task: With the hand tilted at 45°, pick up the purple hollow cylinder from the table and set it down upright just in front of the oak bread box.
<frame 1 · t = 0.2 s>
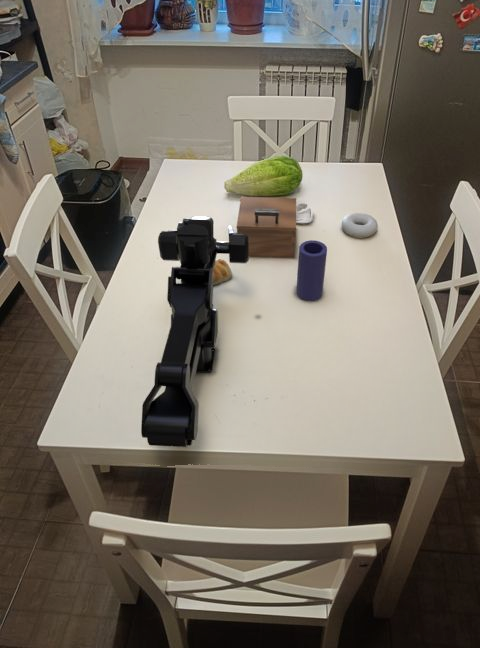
hand: (209, 226, 113), 17 cm above the table, tool horizontal, fingers open, 9 cm apart
purple hollow cylinder: (309, 292, 122), on the table
bread box: (267, 242, 138), on the table
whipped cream: (301, 219, 147), on the table
lettuce: (262, 192, 159), on the table
donut: (358, 230, 143), on the table
pastry: (214, 278, 127), on the table
bread box lid: (267, 206, 130), point 11 cm above the table, hinge at 0.0°
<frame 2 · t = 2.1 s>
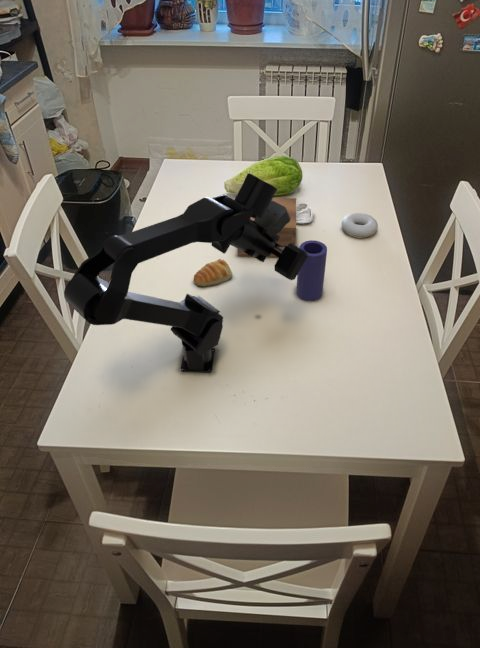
hand: (285, 257, 110), 14 cm above the table, tool tilted 45°, fingers open, 9 cm apart
nothing on the table moved.
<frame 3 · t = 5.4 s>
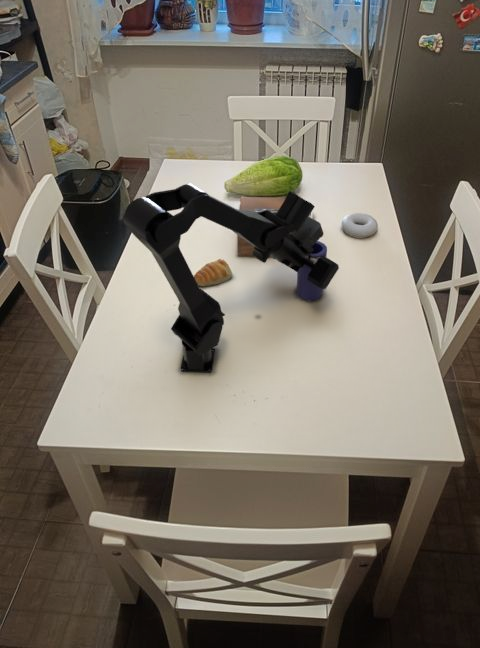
hand: (315, 268, 119), 7 cm above the table, tool tilted 45°, fingers closed on purple hollow cylinder, 6 cm apart
purple hollow cylinder: (309, 292, 122), on the table, touching gripper
everything else where it was.
when the fingers open (7 cm above the table, at t = 12.3 s): purple hollow cylinder stays where it is, on the table.
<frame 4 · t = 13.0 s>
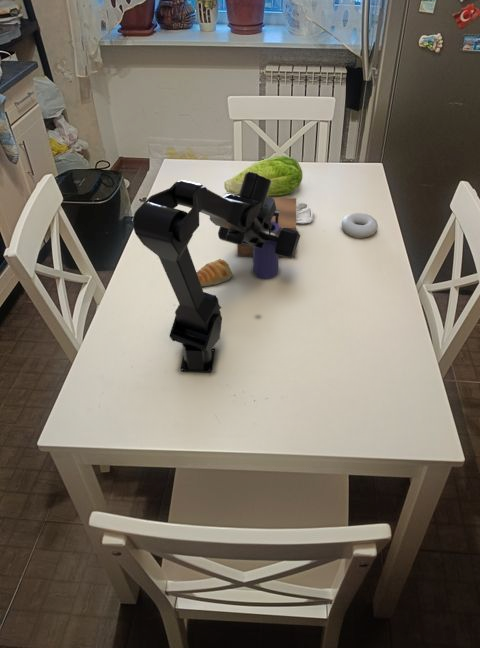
hand: (268, 243, 125), 7 cm above the table, tool tilted 45°, fingers open, 9 cm apart
purple hollow cylinder: (265, 271, 129), on the table
everything else where it was.
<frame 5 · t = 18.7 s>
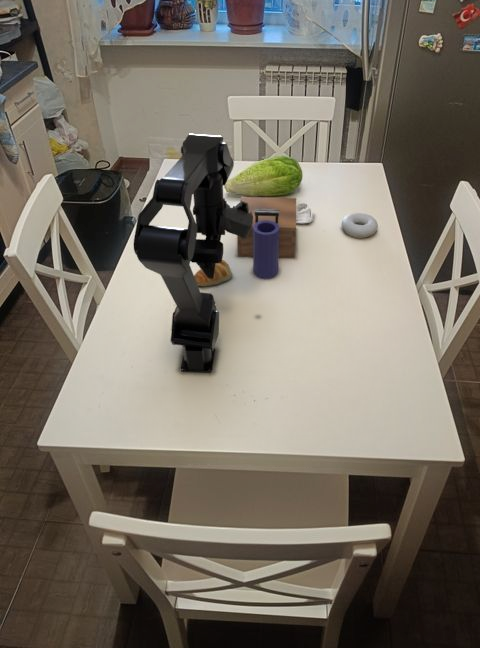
hand: (213, 264, 109), 13 cm above the table, tool pointing down, fingers open, 9 cm apart
nothing on the table moved.
at the end: purple hollow cylinder inside the target area on the table beside the bread box (1.7 cm from its centre), on the table; purple hollow cylinder tilted 0°; the gripper is holding nothing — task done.
